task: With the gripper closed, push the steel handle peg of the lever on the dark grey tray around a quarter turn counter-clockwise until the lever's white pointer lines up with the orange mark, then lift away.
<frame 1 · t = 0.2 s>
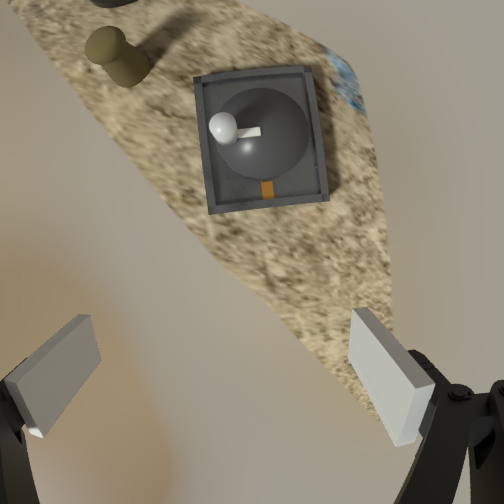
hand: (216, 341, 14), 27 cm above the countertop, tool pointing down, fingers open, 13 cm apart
cork: (131, 69, 36), on the countertop
dark grey tray: (260, 138, 38), on the countertop
lever: (262, 128, 31), point 7 cm above the countertop, hinge at 0.0°
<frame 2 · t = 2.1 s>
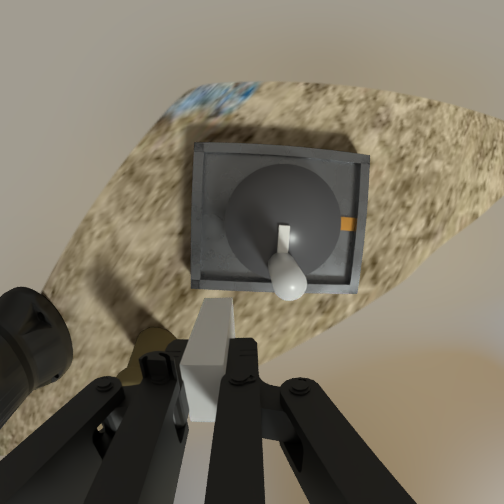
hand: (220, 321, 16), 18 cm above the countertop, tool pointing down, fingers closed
cork: (159, 347, 37), on the countertop
dark grey tray: (278, 217, 33), on the countertop
lever: (286, 225, 27), point 7 cm above the countertop, hinge at 0.0°
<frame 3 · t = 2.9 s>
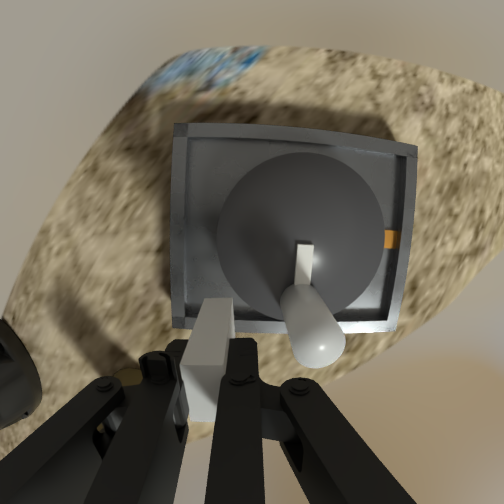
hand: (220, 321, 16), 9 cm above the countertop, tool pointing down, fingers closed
cork: (138, 390, 27), on the countertop
dark grey tray: (293, 229, 24), on the countertop
lever: (310, 245, 17), point 7 cm above the countertop, hinge at 0.0°
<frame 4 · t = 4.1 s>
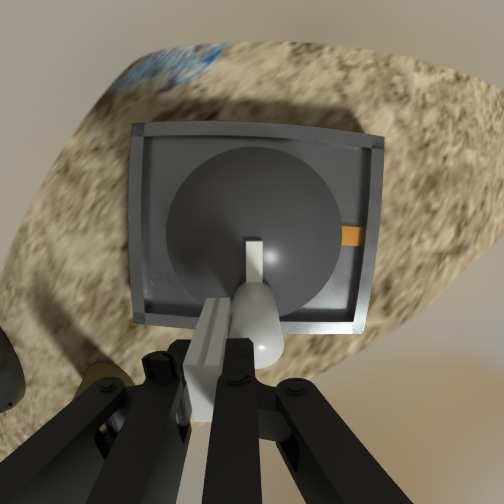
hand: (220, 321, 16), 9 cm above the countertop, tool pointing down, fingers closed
cork: (111, 384, 27), on the countertop
dark grey tray: (253, 226, 24), on the countertop
lever: (254, 241, 17), point 7 cm above the countertop, hinge at 3.0°, touching gripper
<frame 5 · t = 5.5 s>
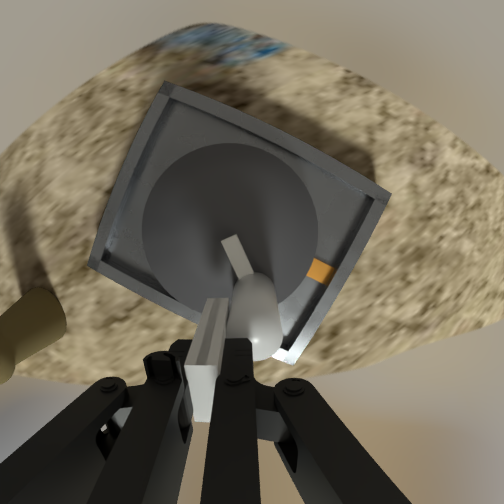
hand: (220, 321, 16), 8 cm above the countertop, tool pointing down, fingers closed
cork: (45, 313, 26), on the countertop
dark grey tray: (233, 223, 24), on the countertop
lever: (225, 238, 17), point 7 cm above the countertop, hinge at 50.5°, touching gripper
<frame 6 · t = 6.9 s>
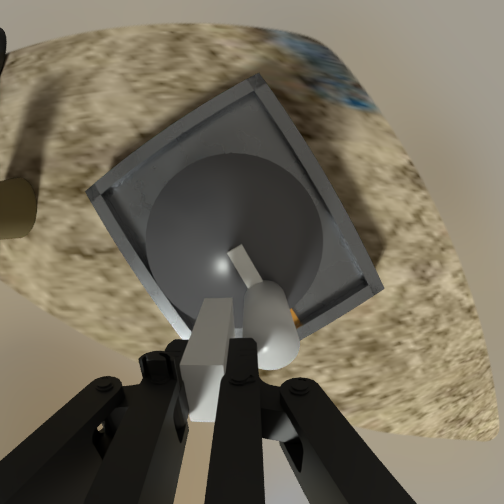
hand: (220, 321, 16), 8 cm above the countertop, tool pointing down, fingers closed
cork: (17, 207, 23), on the countertop
dark grey tray: (236, 232, 24), on the countertop
lever: (231, 250, 17), point 7 cm above the countertop, hinge at 87.5°
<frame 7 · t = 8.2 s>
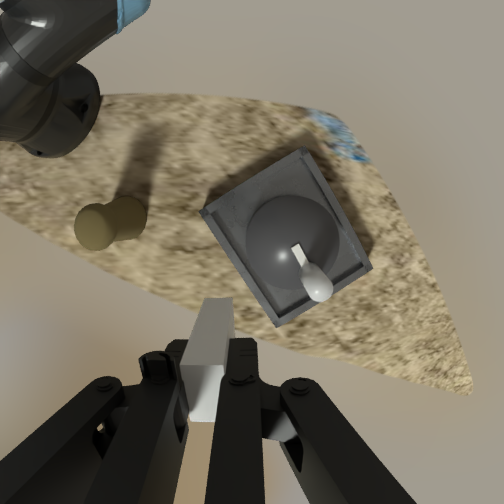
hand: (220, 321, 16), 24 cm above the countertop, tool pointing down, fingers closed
cork: (127, 217, 39), on the countertop
dark grey tray: (288, 236, 40), on the countertop
lever: (295, 246, 33), point 7 cm above the countertop, hinge at 87.6°
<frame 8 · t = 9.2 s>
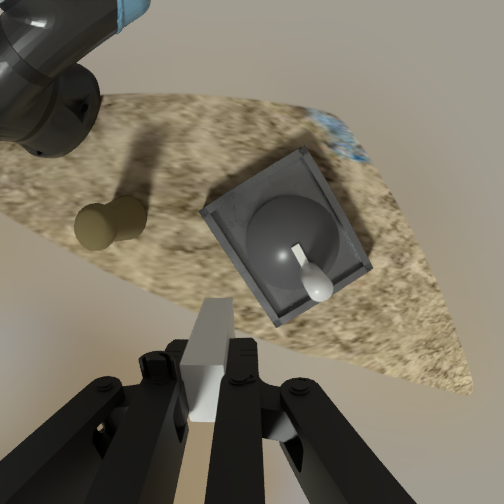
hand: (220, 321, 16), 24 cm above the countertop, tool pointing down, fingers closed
cork: (127, 217, 39), on the countertop
dark grey tray: (288, 236, 40), on the countertop
lever: (295, 246, 33), point 7 cm above the countertop, hinge at 87.6°
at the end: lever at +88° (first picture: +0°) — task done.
